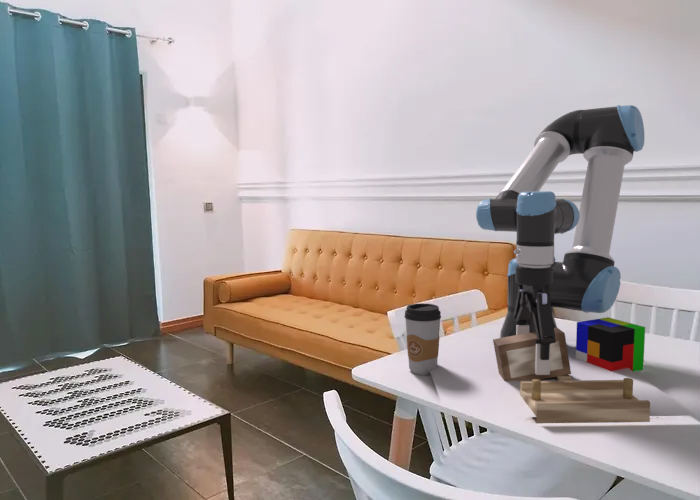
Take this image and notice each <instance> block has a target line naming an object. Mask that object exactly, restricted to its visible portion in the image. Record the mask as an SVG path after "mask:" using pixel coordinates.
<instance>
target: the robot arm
mask: <svg viewBox="0 0 700 500" xmlns="http://www.w3.org/2000/svg"><path fill="white" fill-rule="evenodd" d="M644 145H645V127H644V122H643V116H642V113H641V111H640V110H639V108H638V107H637V106H635V105H631V104H630V105H619V104H618V105H615V106H607V107H599V108H597V107H596V108H590V109H589V108H587V109H577V110H573V111H570V112H568V113H565V114H563V115H561V116H560V117H558V118H556V119H555V120H553V121H551V123H549V124H548V125H547V126H546V127H545V128H544V129H543V130H542V131H541V132H540V133H539V134H538V135H537V137H536V138H535V140H534V144H533V149H532V150H530V153H529V154H528V155H527V156H526V158H525V159H524V160H523V162H522V163H521V164H520V166H519V167H518V168H517V170H516V171H515V172H514V173H513V174H512V176H511V177H510V179H509V180H508V182H506V184H505V185H504V187H503V188H502V190H501V191H500V192H499V193H498V195H497V196H496V197H495V198H489V199H483V200H481V201H480V202H479V203H478V205H477V207H476V213H475V217H476V221H477V224H478V226H479V227H480V228H481V229H482V230H485V231H486V230H487V231H494V232H515V233H516V243H515V244H516V245H515V246H516V249H514V250H513V254H514V255H515V258H512V259H511V260H509V262H508V268H507V312H506V315H505V319H504V321H503V324H502V326H501V330H500V334H499V335H500V337H499V338H503V337H509V336H514V335H519V334H524V333H530V332H535V331H536V334H537V339H538V340H535V342H534V343H535V344H536V356H535V374H536V375H550V351H551V344H552V343H555V342H556V339H555V332H554V328H556V327H557V328H558V325H557V323H556V319H555V317H554V308H558V309H564V310H572V311H579V312H584V313H585V314H588V313H589V314H590V313H595V314H602V313H603V314H604V313H606V312H608V311H609V310H610V309H611V308H612V307H613V306H614V304H615V302H616V300H617V298H618V295H619V291H620V289H621V278H622V276H621V271H620V269H619V268H618V267H617V266H615V259H613V258H612V256H611V255H610V252H611V245H612V239H613V236H614V235H613V234H614V227H615V223H616V216H617V210H618V204H619V199H620V194H621V188H622V183H623V177H624V171H625V170H624V169H625V166H626V165H628V164H629V163H631V162H632V161H633V158H634V153H638V152H640V151H642V150H643V147H644ZM579 154H582V156H583V158H584V159H585V160H586V161H587V167H586V173H585V177H584V183H583V189H582V195H581V200H580V204H579V208H578V206H577V205H576V204H575V203H574V202H573V201H571V200H568V199H565V198H556V194H555V193H554V192H553V191H551V190H550V191H548V190H547V191H545V190H544V191H543V190H542V191H541V189H543V186H545V183H546V182H547V180H548V179H549V177H551V174H552V173H553V172H554V171H555V169H556V167H557V166H558V165H559V164H560V163H562V162H564V161H565V160H566V159H567V158H568V157H569V156H571V155H579ZM573 229H575V231H574V236H573V242H572V246H571V249H570V250H568V251H566V252H565V253H564V256H563V261H556V258H555V235H556V234H565V233H567V232H570V231H572V230H573ZM545 336H546V337H545Z"/></svg>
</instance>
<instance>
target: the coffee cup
mask: <svg viewBox="0 0 700 500" xmlns="http://www.w3.org/2000/svg"><path fill="white" fill-rule="evenodd" d="M404 318H405V327H406V329H405V330H406V331H405V332H406V347H407V358H408V369H409V370H410V372H411V373H412V374H415V375H420V376H427V375H432V373H431V370H434V369H436V368H438V362H439V359H438V358H439V349H440V327H441V318H442V315H441V310H440V307H439V306H438V305H436V304H432V303H425V302H422V303H411V304H409V305H407V306H406V310H404Z"/></svg>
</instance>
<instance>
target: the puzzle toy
mask: <svg viewBox="0 0 700 500" xmlns="http://www.w3.org/2000/svg"><path fill="white" fill-rule="evenodd" d="M575 336H576V342H575V359H577V360H579V361H582V362H584V363H588V364H590V365H594V366H595V367H599V368H601V369H604V370H607V371H609V372H614V371H619V370H624V369H628V370H630V371H631V372H632V373H635V372H639V371H643V370H644V362H645V361H644V360H645V359H644V358H645V343H646V341H645V339H646V327H645V326H642V325H638V324H635V323H631V322H628V321H624V320H619V319H616V318H612V317H601V318H597V319H596V318H594V319H590V320H589V319H587V320H584V321H576V335H575Z"/></svg>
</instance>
